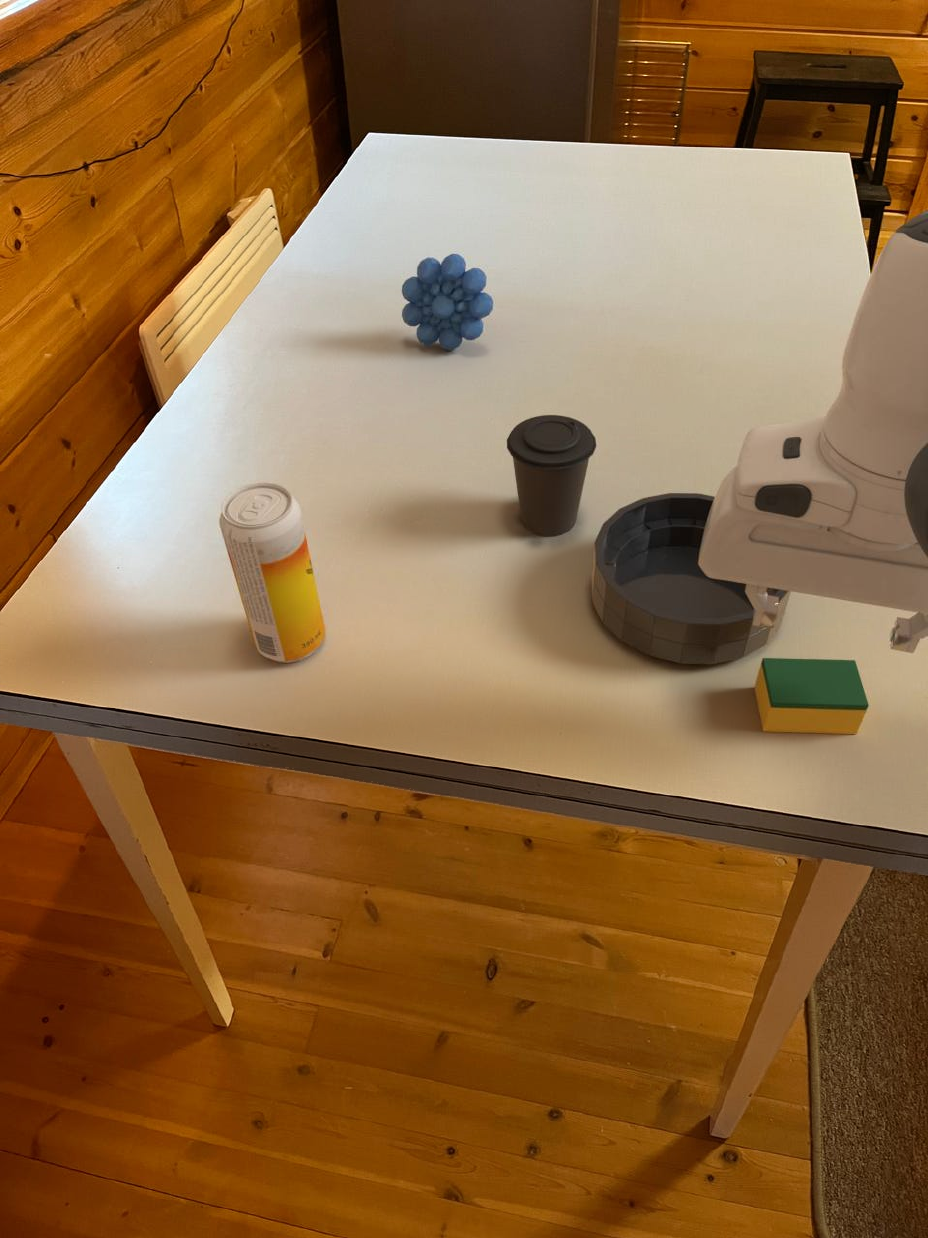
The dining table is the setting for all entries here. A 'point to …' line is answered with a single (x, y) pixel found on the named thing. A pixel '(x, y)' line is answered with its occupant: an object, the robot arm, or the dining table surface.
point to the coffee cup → (550, 471)
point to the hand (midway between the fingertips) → (830, 632)
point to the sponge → (810, 696)
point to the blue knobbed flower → (446, 301)
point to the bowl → (671, 585)
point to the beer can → (273, 570)
